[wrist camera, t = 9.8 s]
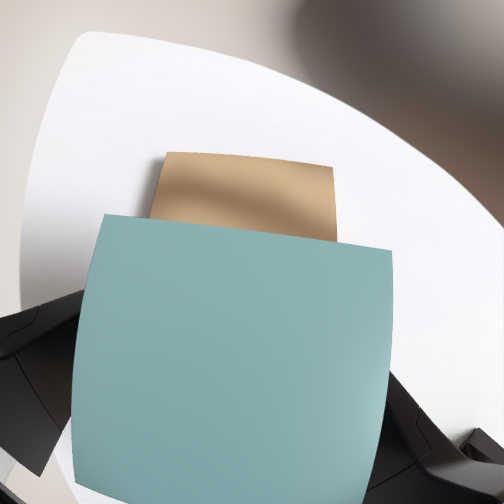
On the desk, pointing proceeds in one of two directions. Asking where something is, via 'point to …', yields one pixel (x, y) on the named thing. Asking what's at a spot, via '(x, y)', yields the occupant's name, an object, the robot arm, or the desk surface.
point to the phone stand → (482, 448)
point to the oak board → (247, 194)
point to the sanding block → (229, 365)
